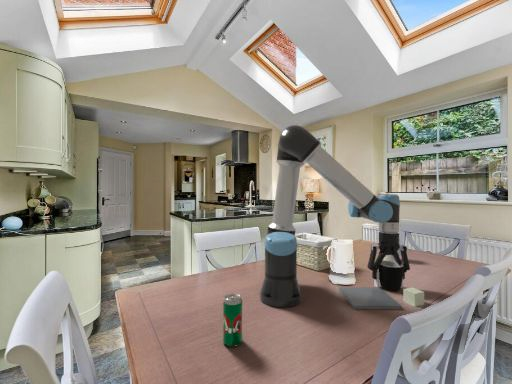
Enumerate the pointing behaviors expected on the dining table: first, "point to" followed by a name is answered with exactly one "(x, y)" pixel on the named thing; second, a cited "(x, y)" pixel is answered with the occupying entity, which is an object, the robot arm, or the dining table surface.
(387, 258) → the cup
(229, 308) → the soda can
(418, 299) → the sage block
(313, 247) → the storage basket
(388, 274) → the mug
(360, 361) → the dining table surface
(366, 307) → the slate trivet
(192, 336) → the dining table surface
